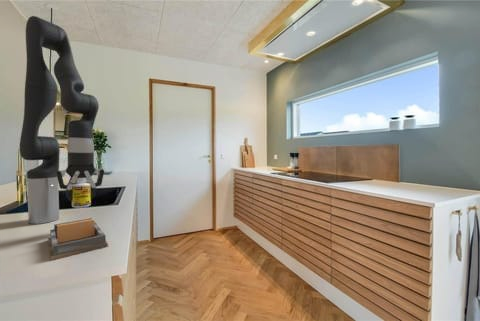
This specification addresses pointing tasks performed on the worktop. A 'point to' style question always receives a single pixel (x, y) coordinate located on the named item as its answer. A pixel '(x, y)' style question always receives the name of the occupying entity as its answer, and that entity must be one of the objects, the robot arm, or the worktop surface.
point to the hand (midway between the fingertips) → (81, 198)
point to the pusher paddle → (75, 230)
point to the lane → (75, 243)
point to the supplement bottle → (81, 193)
